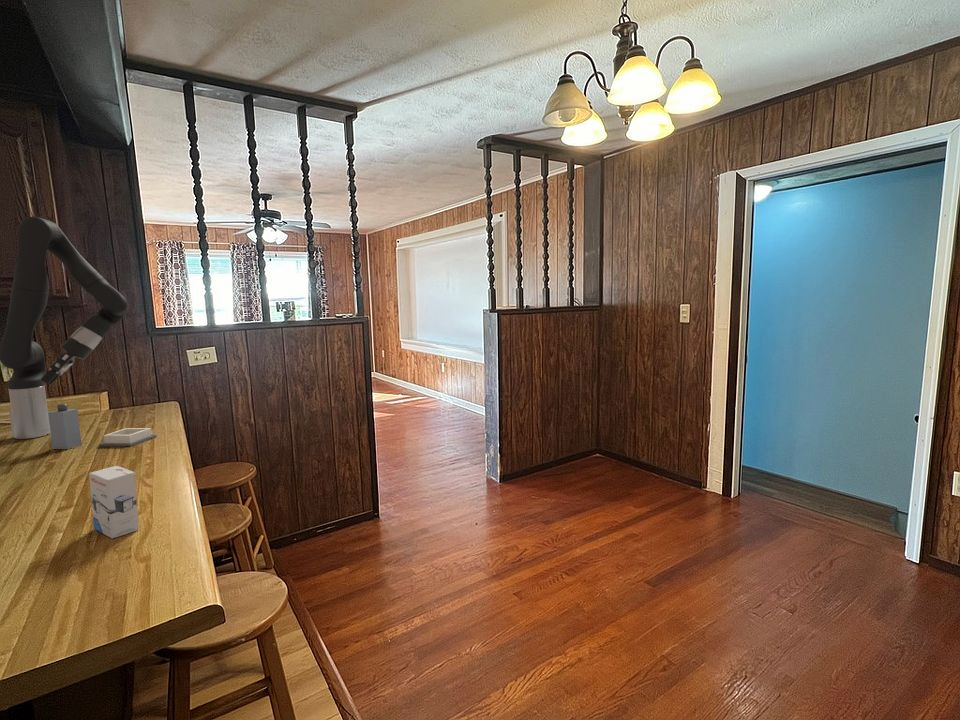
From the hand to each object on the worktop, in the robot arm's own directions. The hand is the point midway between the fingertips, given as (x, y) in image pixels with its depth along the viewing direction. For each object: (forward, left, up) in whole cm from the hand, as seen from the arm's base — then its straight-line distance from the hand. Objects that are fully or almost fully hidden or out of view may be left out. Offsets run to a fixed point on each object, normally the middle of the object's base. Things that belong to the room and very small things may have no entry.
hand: (46, 382), depth 161 cm
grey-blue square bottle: (+12, -7, -20) cm, 24 cm away
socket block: (+27, 0, -20) cm, 34 cm away
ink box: (+76, -60, -20) cm, 99 cm away
